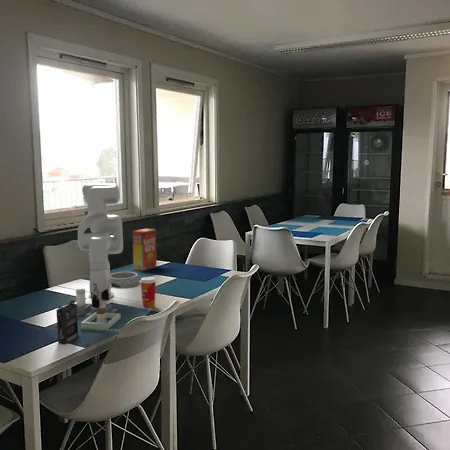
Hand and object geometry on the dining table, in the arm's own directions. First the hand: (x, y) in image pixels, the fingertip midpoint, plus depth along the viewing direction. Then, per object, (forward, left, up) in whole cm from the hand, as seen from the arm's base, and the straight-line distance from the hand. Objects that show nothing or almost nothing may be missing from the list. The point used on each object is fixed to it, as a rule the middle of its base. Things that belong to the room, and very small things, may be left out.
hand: (100, 303), depth 218 cm
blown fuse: (0, 0, -9) cm, 9 cm away
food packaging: (-106, -17, -9) cm, 108 cm away
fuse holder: (-13, -11, -9) cm, 19 cm away
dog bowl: (-68, -16, -10) cm, 70 cm away
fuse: (-13, -16, -8) cm, 22 cm away
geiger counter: (+20, -6, -9) cm, 22 cm away
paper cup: (-27, +12, -9) cm, 31 cm away
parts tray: (+1, 0, -9) cm, 9 cm away
